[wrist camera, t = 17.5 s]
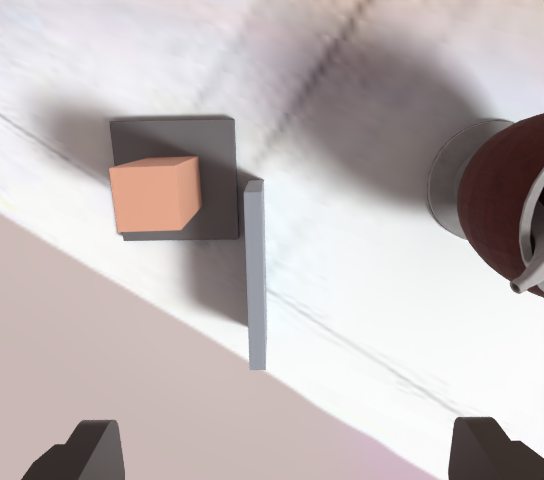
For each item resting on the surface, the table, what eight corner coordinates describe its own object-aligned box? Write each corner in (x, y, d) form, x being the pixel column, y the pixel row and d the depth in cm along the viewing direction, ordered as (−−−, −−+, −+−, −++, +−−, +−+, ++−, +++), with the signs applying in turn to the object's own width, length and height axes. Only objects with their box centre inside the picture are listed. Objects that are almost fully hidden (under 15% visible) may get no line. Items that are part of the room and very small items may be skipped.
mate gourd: (536, 87, 40) (785, 52, 20) (570, 215, 43) (810, 289, 24) (385, 155, 41) (483, 181, 22) (429, 273, 45) (547, 384, 26)
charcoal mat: (113, 121, 41) (109, 121, 40) (234, 119, 40) (233, 119, 39) (127, 238, 44) (123, 240, 43) (239, 236, 44) (238, 239, 43)
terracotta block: (144, 157, 40) (104, 168, 31) (198, 156, 40) (174, 165, 31) (150, 207, 42) (114, 232, 32) (202, 205, 42) (181, 230, 32)
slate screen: (248, 180, 42) (243, 192, 34) (263, 179, 42) (261, 192, 34) (253, 329, 47) (249, 370, 39) (266, 329, 47) (265, 369, 39)
